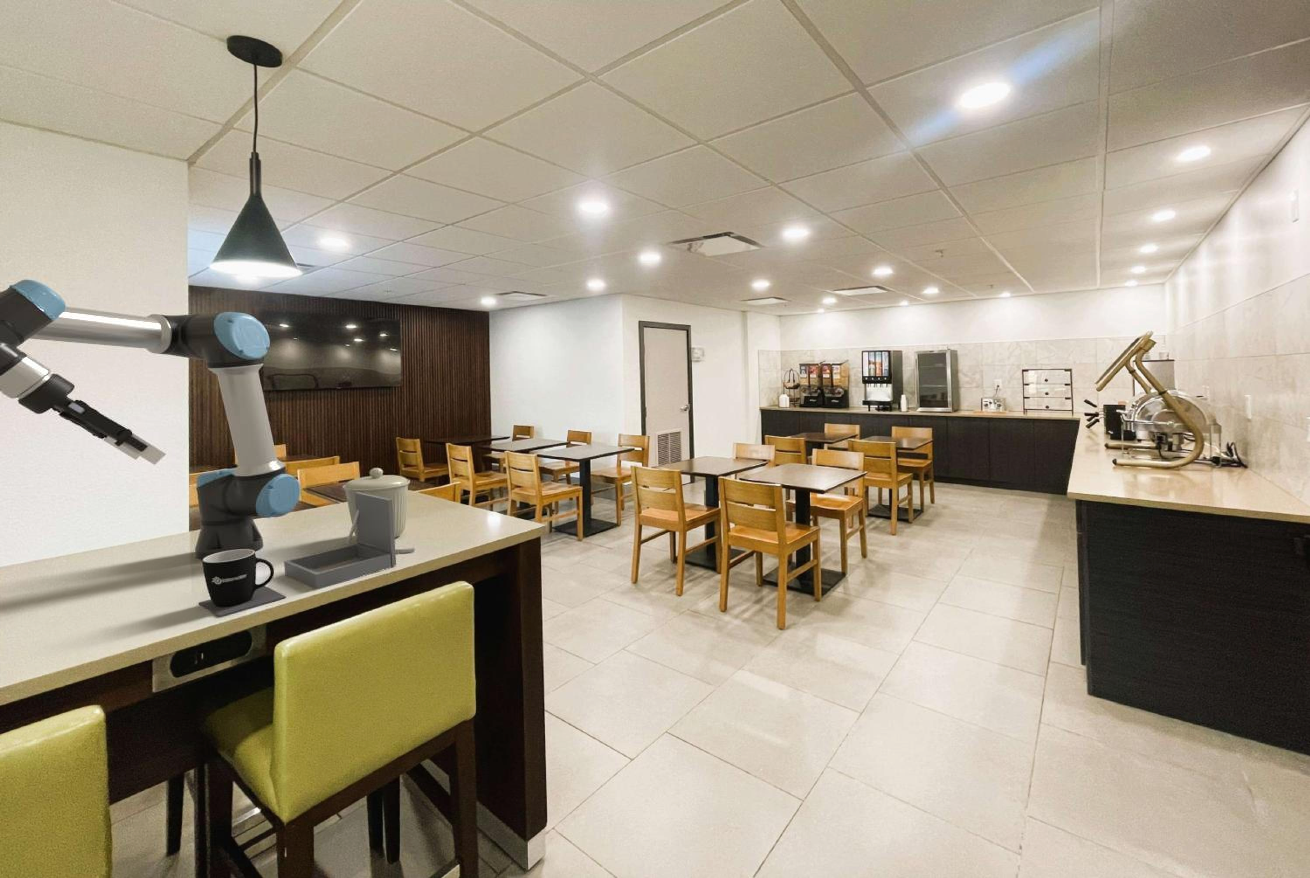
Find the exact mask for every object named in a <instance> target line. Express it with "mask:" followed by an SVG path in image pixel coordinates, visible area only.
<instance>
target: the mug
mask: <svg viewBox="0 0 1310 878" xmlns="http://www.w3.org/2000/svg"><path fill="white" fill-rule="evenodd" d="M258 563H262V564H265V566H267V567H268V568H269V570H270V573H269V576H268V578H267V579H266V580H265V581H263V582H262V583H259V584H258V583H256V581H257V578H256V577H257V564H258ZM202 569H203V576H204V580H205V585H206V588H207V589H206V590H207V591H208V592H207V593H208V594H209V598H210V599H211V600H212V602H213V603H214V605H216V606H217V607H230V606H235V605H239V604H242V603H245V602H247V601H249V600H250V599H251V598H252V596H253V594H254V592H255V590H257V589H258V588H261V587H263V586H266V585H268V584H269V583H270V582H271V581H272V580H273V577H274V575H275V569H274V565H273V564H272V563H271V562H270V561H269V560H267V559H265V558H261V557H257V555H256V551H254V550H250V549H238V550H229V551H224V552H219V553H215V554H212V555H209V556H207V557H205V558H204V559H202Z"/></svg>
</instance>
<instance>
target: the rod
mask: <svg viewBox="0 0 1310 878" xmlns="http://www.w3.org/2000/svg"><path fill="white" fill-rule="evenodd" d="M414 551H415V552H416V548H415V547H411V548H399V549H398V548H397V549H395V553H400V554H405V553H404V552H414ZM415 552H414V553H415Z"/></svg>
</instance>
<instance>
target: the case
mask: <svg viewBox="0 0 1310 878" xmlns="http://www.w3.org/2000/svg"><path fill="white" fill-rule="evenodd" d="M355 506H356V515H355V519H354V522H353V525H352V524H351V529H350V532H349V533H348V537H347V540H346V543H345V546H342V547H341V546H340V547H337V548H332V549H329V550H325V551H321V552H317V553H312V554H309V555H305V556H299V557H296V558H292V559H288V560H284V561H283V564H284V565H283V566H284V574H285V575H284V576H286V577H289V578H290V579H293V580H294V581H298V582H299V583H302V584H304V585H306V586H308V587H311V588H313V589H315V590H321V589H324V588H326V587H330V586H334V585H336V584H340V583H343V582H347V581H350V580H354V579H357V578H361V577H364V576H363V575H365V576H367V575H366V574H368V575H370V574H369V573H371V574H374V573H373V572H375V573H377V572H376V571H378V572H380V571H379V570H382V569H385V570H387V569H386V568H388V569H390V568H389V567H391V568H392V567H393V566H395V567H396V565H397V558H396V555H397V554H396V553H395V550H396V539H395V538H396V537H395V538H394V522H393V506H392V499H388V498H383V497H379V496H374V495H369V494H365V493H360V492H356V493H355ZM356 523H357V534H358V538H357V542H356V543H353V544H351V541H352V539H353V535H354V529H355V526H356ZM356 558H357V559H360V560H361V561H357V562H353V563H349V564H346V565H342V566H337V567H334V568H332V569H327V570H324V571H320V572H319V571H318V572H317V571H314V569H318V568H322V567H325V566H330V565H333V564H337V563H340V562H344V561H348V560H352V559H356ZM382 571H383V570H382ZM360 576H361V577H360Z"/></svg>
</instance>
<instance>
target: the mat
mask: <svg viewBox="0 0 1310 878" xmlns="http://www.w3.org/2000/svg"><path fill="white" fill-rule="evenodd" d="M286 598H287V596H286V595H284V594H282V593H281V592H278V591H276V590H274V589H272V588H270V587H268V586H266V585H265V586H263V587H261V588H258V589H257V590H255V592H254V594H253V596H252V598H251V599H250V600H249V601H247V602H245V603H242V604H239V605H235V606H230V607H217V606H216V605H214V603H213V602H212V600H211V598H210V599H207V600H203V601H200V602H198V605H199V606H201V607H203V608H204V609H206V610H207V611H209V612H210V613H211V614H214V615H215V616H216V617H218V618H223V617H227V616H229V615H230V616H231V615H232V614H237V613H239V612H243V611H247V610H250V609H254V608H257V607H261V606H264V605H267V604H270V603H275V602H278V601H280V600H284V599H286Z"/></svg>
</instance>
